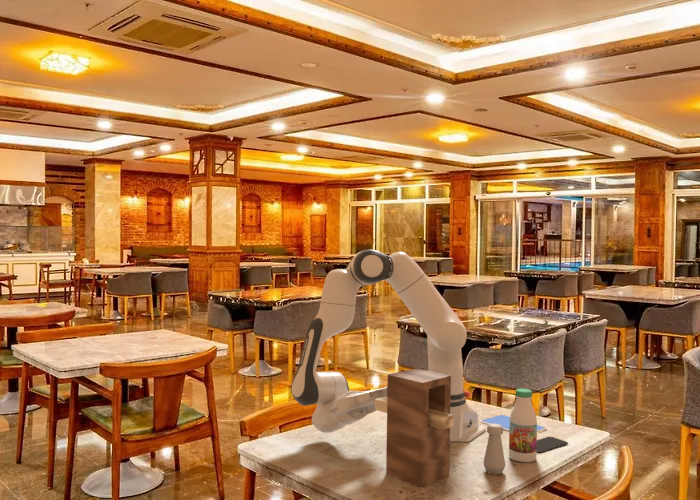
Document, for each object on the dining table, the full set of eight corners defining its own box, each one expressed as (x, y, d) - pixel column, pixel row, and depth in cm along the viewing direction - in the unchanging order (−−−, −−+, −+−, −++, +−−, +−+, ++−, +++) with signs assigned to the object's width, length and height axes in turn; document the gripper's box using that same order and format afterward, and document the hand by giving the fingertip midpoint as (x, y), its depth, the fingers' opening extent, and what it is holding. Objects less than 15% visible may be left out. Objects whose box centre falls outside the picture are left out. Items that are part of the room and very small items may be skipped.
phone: (519, 445, 189) (549, 435, 198) (519, 448, 189) (549, 438, 198) (539, 452, 183) (569, 442, 192) (539, 455, 183) (569, 445, 192)
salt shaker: (505, 477, 165) (506, 429, 165) (483, 475, 167) (484, 427, 166) (504, 468, 171) (505, 422, 171) (483, 467, 172) (484, 420, 172)
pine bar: (384, 406, 177) (384, 396, 177) (453, 426, 160) (453, 414, 160) (374, 409, 174) (375, 399, 174) (443, 429, 157) (443, 418, 157)
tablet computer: (478, 423, 214) (478, 419, 214) (502, 417, 221) (502, 413, 221) (524, 438, 198) (524, 434, 198) (548, 431, 206) (548, 427, 206)
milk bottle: (505, 453, 183) (506, 386, 182) (530, 453, 184) (531, 386, 183) (514, 463, 175) (515, 393, 175) (540, 463, 176) (542, 393, 175)
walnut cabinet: (414, 462, 175) (416, 368, 174) (449, 475, 166) (450, 375, 165) (386, 474, 166) (387, 374, 165) (421, 487, 158) (422, 382, 157)
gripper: (322, 402, 178) (352, 386, 169) (371, 390, 192) (401, 375, 183) (329, 424, 175) (360, 409, 167) (378, 410, 190) (408, 395, 181)
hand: (381, 391), depth 175 cm, fingers open, 8 cm apart
